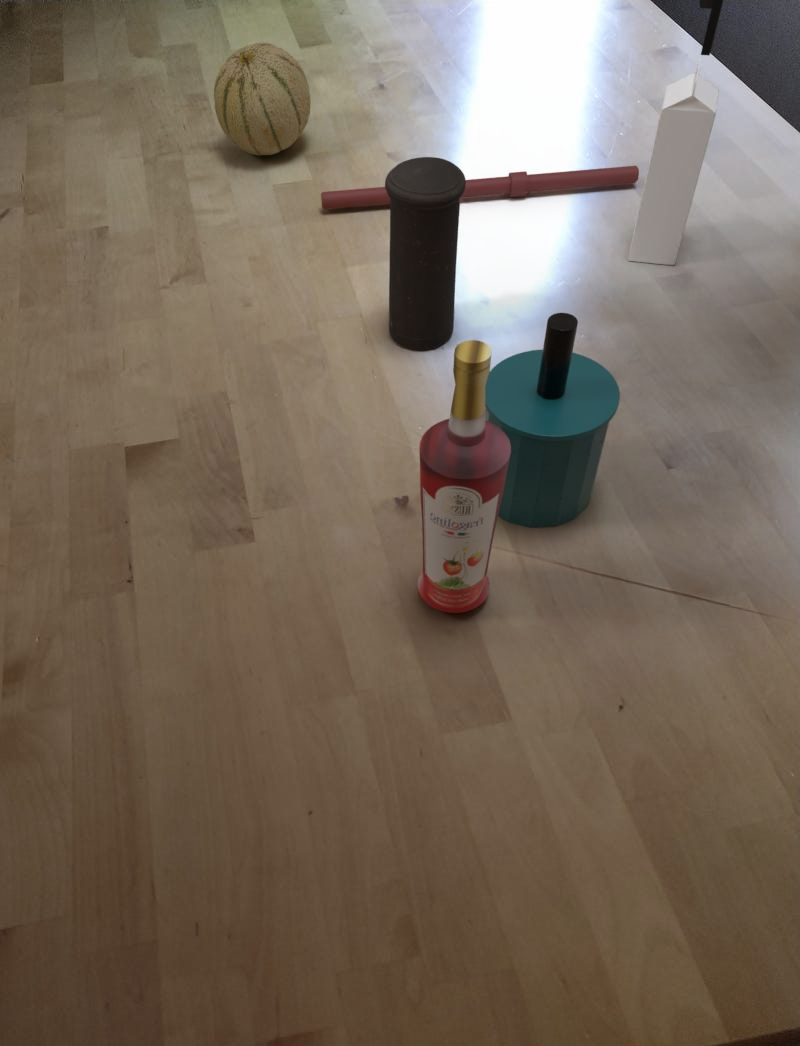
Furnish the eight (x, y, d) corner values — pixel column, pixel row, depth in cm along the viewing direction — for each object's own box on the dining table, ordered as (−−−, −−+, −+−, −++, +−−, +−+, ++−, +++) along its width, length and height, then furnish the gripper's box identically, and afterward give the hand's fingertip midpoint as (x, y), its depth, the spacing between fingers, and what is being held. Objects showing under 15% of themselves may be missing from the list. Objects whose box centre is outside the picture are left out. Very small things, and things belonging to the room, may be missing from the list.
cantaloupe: (321, 127, 145) (314, 22, 133) (304, 174, 137) (296, 66, 125) (233, 126, 148) (218, 23, 135) (211, 172, 139) (194, 66, 127)
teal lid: (629, 372, 87) (649, 292, 80) (602, 458, 80) (622, 379, 73) (501, 349, 90) (510, 270, 83) (465, 430, 83) (472, 351, 76)
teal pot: (600, 465, 96) (624, 369, 86) (576, 542, 90) (599, 448, 80) (495, 443, 99) (506, 348, 89) (465, 516, 93) (473, 422, 83)
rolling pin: (631, 179, 129) (636, 157, 127) (636, 190, 128) (641, 168, 125) (321, 205, 131) (320, 184, 129) (322, 217, 129) (321, 195, 127)
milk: (627, 261, 118) (666, 79, 100) (632, 236, 121) (671, 55, 103) (675, 266, 116) (724, 82, 98) (679, 240, 120) (727, 58, 102)
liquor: (494, 569, 89) (529, 325, 66) (486, 627, 85) (519, 388, 62) (421, 560, 90) (430, 317, 67) (409, 617, 86) (414, 379, 63)
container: (445, 304, 115) (454, 144, 99) (464, 346, 110) (476, 184, 93) (379, 315, 114) (377, 156, 98) (395, 358, 109) (395, 197, 93)
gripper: (696, -269, 63) (635, 62, 80) (1109, -281, 56) (946, 83, 74) (710, -293, 67) (649, 27, 84) (1097, -307, 60) (945, 45, 78)
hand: (787, 54), depth 79 cm, fingers open, 13 cm apart
